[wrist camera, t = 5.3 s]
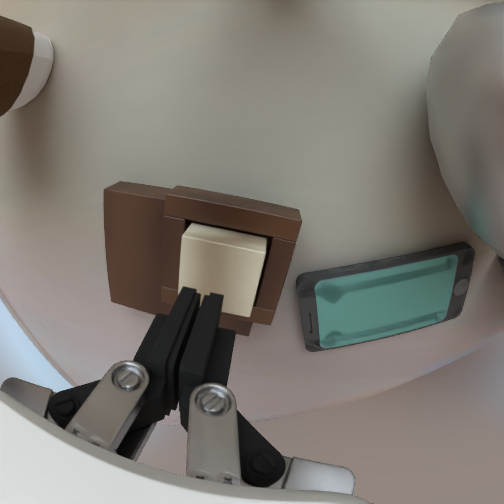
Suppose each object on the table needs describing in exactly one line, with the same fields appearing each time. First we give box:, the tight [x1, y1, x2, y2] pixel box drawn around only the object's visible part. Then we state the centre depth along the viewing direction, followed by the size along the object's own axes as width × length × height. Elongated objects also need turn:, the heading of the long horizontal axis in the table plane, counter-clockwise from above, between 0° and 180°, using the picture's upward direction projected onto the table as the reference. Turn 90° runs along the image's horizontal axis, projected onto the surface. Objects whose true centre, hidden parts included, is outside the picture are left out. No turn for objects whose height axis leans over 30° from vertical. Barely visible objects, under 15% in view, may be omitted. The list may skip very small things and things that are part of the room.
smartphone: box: [296, 243, 475, 352], centre depth 19 cm, size 7×1×15 cm
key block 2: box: [104, 181, 302, 336], centre depth 17 cm, size 12×10×4 cm
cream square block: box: [178, 223, 267, 317], centre depth 14 cm, size 4×4×2 cm
